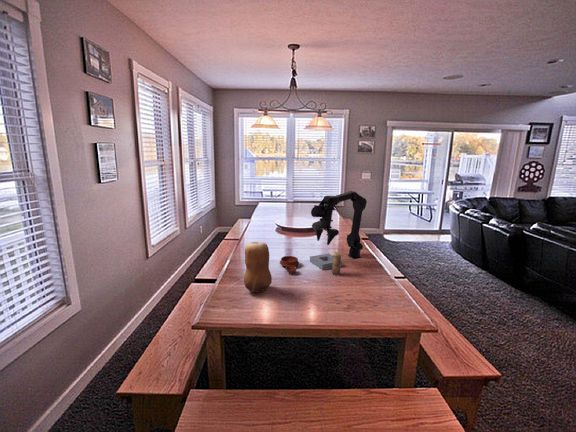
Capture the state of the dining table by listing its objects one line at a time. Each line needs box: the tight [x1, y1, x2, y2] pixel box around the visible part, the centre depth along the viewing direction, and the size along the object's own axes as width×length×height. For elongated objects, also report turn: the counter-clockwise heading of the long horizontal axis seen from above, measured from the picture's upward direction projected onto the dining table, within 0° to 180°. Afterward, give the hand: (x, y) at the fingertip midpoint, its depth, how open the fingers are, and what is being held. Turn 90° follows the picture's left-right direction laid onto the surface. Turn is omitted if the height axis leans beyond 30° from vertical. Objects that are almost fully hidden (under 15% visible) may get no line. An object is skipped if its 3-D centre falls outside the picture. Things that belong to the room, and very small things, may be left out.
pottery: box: [279, 255, 300, 275], centre depth 173 cm, size 12×20×4 cm, turn 5°
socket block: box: [309, 253, 343, 271], centre depth 180 cm, size 14×14×4 cm
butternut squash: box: [243, 241, 273, 293], centre depth 142 cm, size 14×13×25 cm
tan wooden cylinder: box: [331, 251, 343, 277], centre depth 165 cm, size 5×5×12 cm
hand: (322, 242), depth 177 cm, fingers open, 9 cm apart
